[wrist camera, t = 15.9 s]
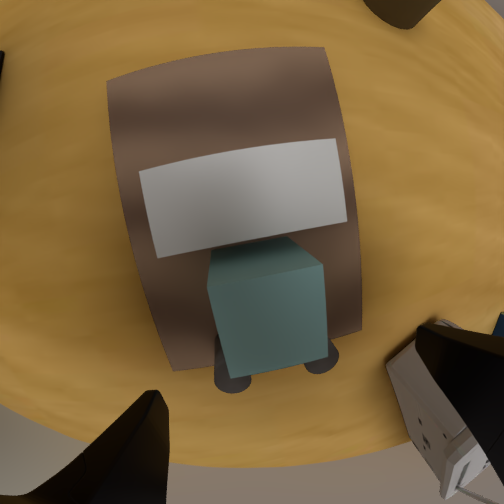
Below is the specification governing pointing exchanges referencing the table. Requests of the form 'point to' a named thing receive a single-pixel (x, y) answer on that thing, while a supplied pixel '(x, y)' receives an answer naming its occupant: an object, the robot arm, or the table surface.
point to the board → (223, 140)
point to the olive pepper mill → (401, 11)
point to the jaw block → (268, 305)
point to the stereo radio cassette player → (436, 424)
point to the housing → (243, 195)
